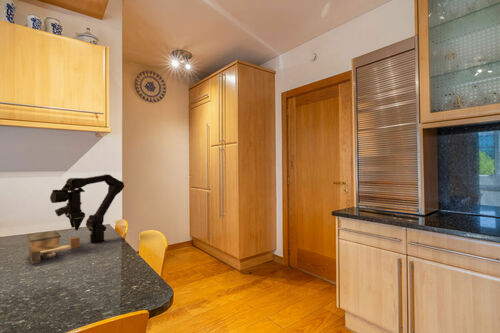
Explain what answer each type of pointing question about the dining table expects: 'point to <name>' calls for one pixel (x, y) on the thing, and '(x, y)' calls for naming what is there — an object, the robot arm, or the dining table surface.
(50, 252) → the token
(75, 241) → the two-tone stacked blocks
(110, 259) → the dining table surface
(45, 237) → the cabinet
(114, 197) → the robot arm
